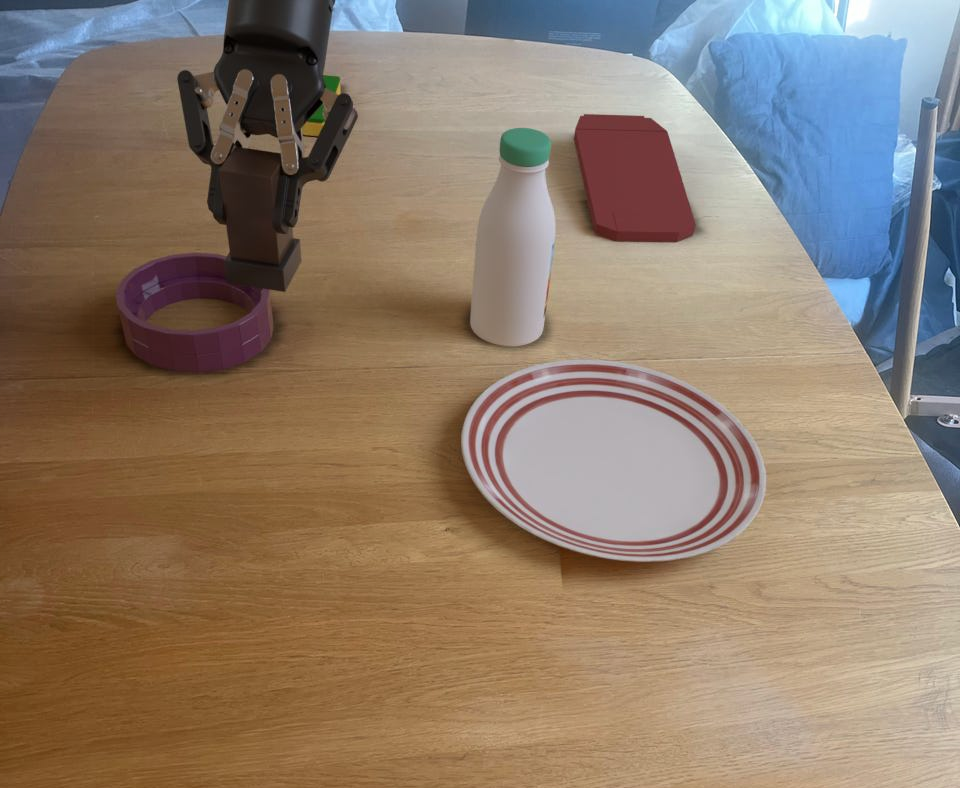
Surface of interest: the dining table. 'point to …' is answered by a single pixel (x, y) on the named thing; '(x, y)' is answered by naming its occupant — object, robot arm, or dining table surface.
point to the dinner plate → (613, 460)
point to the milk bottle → (515, 244)
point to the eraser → (256, 222)
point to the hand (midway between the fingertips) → (251, 225)
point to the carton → (632, 179)
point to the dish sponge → (321, 108)
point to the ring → (183, 282)
